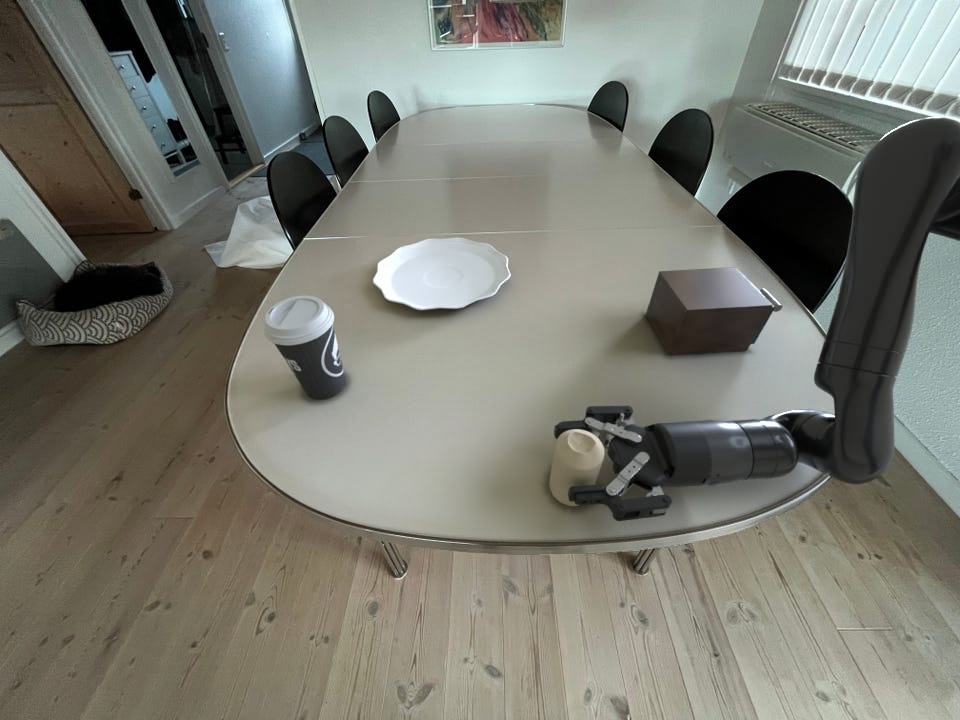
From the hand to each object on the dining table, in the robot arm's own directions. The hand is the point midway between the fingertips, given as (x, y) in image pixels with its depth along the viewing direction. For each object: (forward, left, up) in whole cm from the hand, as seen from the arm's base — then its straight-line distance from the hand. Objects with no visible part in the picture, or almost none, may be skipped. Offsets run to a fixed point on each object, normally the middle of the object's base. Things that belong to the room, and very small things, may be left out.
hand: (561, 461), depth 48 cm
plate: (+15, -52, -6) cm, 54 cm away
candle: (-2, 0, -6) cm, 6 cm away
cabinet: (-31, -29, -6) cm, 43 cm away
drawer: (-35, -29, -5) cm, 45 cm away
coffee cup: (+34, -21, -6) cm, 41 cm away
